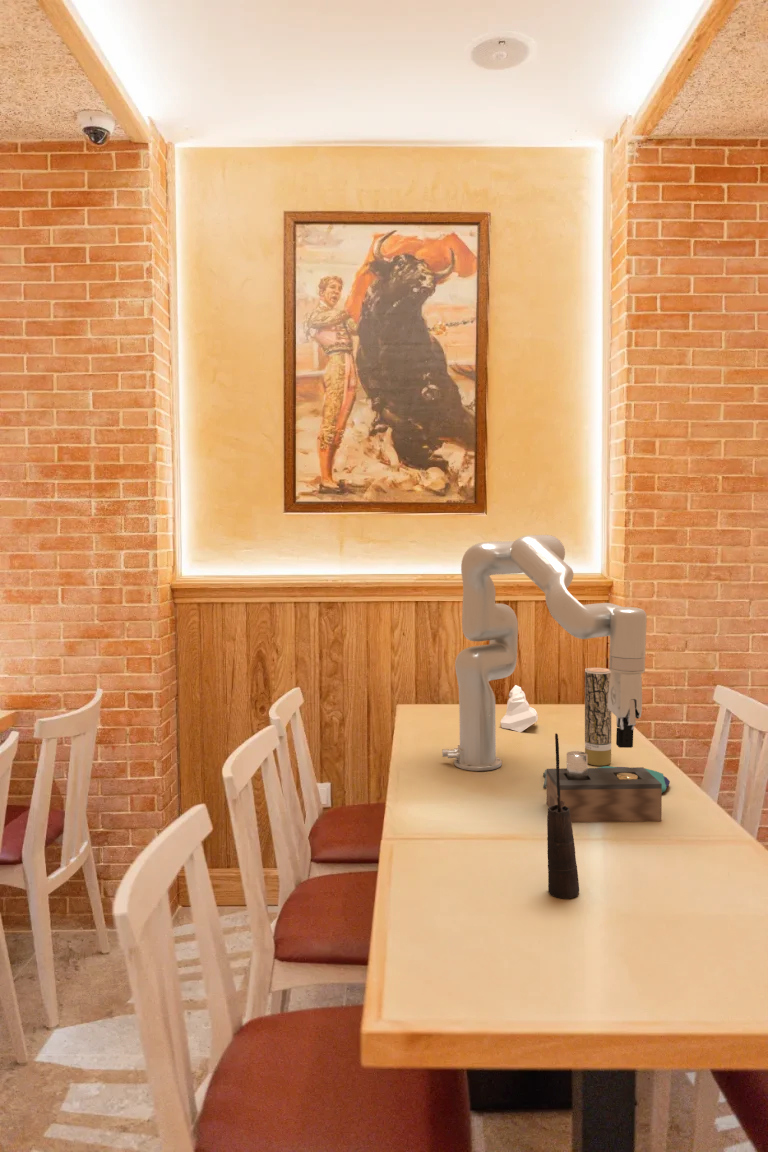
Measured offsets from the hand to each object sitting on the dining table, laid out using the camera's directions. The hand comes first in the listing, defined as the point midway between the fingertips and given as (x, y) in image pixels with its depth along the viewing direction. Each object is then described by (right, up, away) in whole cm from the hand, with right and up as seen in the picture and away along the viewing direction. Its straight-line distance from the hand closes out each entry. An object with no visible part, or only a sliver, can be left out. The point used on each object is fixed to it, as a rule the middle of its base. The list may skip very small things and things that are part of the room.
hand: (624, 746), depth 177 cm
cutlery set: (+1, -14, +20) cm, 25 cm away
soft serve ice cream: (-10, -11, +77) cm, 78 cm away
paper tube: (+4, -13, +37) cm, 39 cm away
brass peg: (+1, -14, 0) cm, 14 cm away
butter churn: (-22, -17, -38) cm, 47 cm away
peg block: (-5, -15, 0) cm, 15 cm away
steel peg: (-10, -10, 0) cm, 14 cm away
